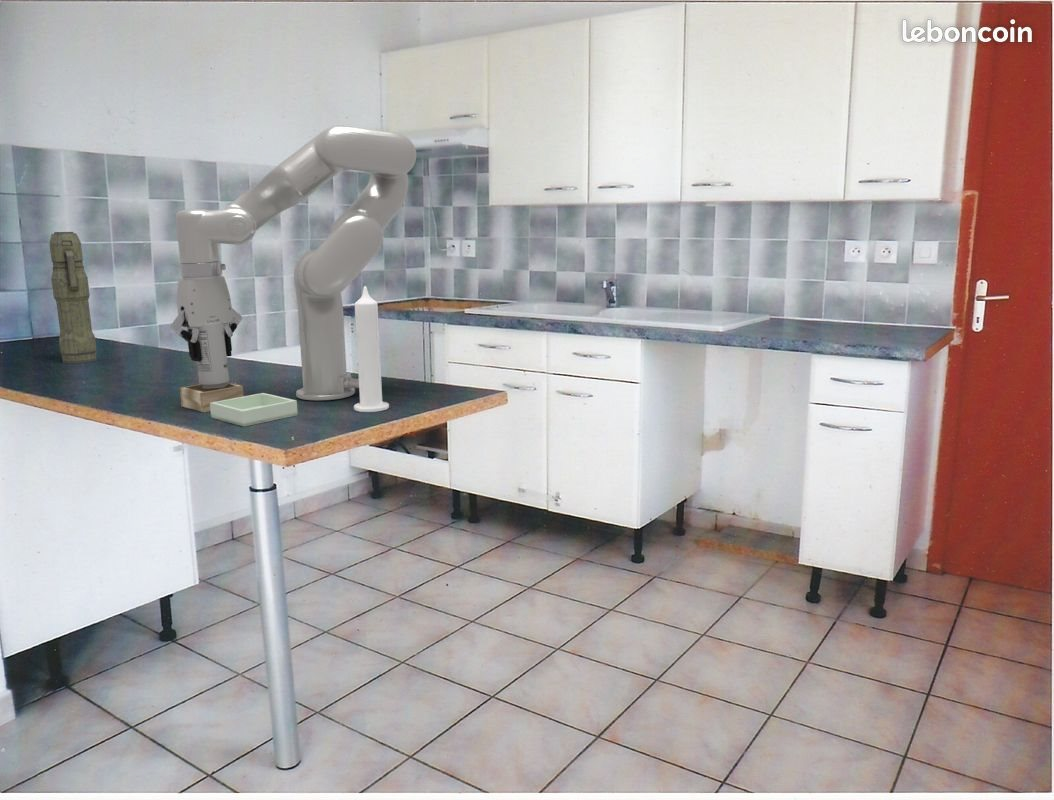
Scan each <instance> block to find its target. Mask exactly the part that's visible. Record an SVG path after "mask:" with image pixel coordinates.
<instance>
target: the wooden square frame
mask: <svg viewBox="0 0 1054 800" xmlns="http://www.w3.org/2000/svg"><path fill="white" fill-rule="evenodd" d="M179 396H180V403H181V404H180V406H181V407H182V408H183V407H184V408H186V409H190V410H194V411H199V412H201V413H209V412H211V411H210V403H211V402H217V401H222V400H227V399H233V398H238V397H244V396H245V395H244V387H243V385H241V384H236V383H233V382H232V383H231V382H228V383H227V386H225V387H221V388H213V389H206V388H203V386H202V385H201V384H199V383H198V384H193V385H187V386H181V387H179Z"/></svg>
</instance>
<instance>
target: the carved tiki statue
mask: <svg viewBox="0 0 1054 800" xmlns="http://www.w3.org/2000/svg"><path fill="white" fill-rule="evenodd" d="M82 248H83V247H82V243H81V240H80V238H79V236H78V233H75V232H74V231H57V232H54V233H51V234H50V239H49V252H50V258H51V263H52V274H51V277H50V278H51V285H52V294H53V295H52V296H53V299H54V301H55V302H56V303H55V304H56V310H57V311H56V312H57V318H58V326H59V338H58V343H59V350H60V351H59V353H60V354H61V358H62V360H61V361H62V362H61V363H63V364H71V365H72V364H84V363H85V364H86V363H91V362H92V363H93V362H96V361H97V360H98V357H97V344H96V342H97V341H96V336H95V334H94V332H93V328H92V327H93V326H92V319H91V312H90V311H91V309H90V303H89V299H90V286H89V279H88V275H87V274H86V271H85V267H84V265H83V261H84V258H83V250H82Z"/></svg>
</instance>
